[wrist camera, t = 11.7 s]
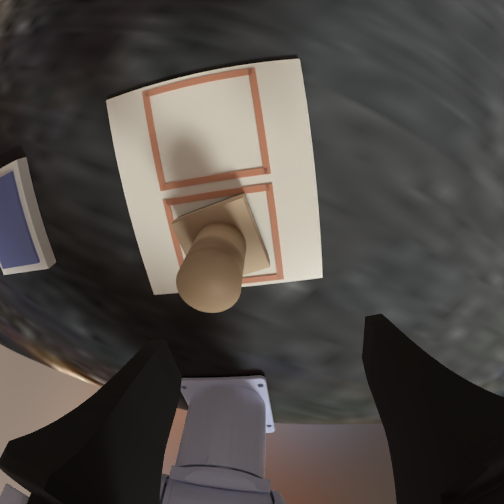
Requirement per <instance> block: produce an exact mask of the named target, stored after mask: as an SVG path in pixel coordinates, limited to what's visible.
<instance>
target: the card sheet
mask: <svg viewBox="0 0 504 504" xmlns="http://www.w3.org/2000/svg"><path fill="white" fill-rule="evenodd" d="M106 103H107V110H108V116H109V122H110V128H111V133H112V139H113V144H114V149H115V154H116V159H117V164H118V168H119V173H120V177H121V182H122V186H123V190H124V194H125V198H126V202H127V206H128V210H129V214H130V218H131V221H132V225H133V229H134V232H135V236H136V239H137V243H138V246H139V249H140V253H141V256H142V259H143V262H144V266H145V269H146V272H147V275H148V278H149V281H150V284H151V287H152V290H153V293H154V295H158V294H171V293H178V290H177V286H176V276H177V273H178V271H179V269H180V267H181V265H182V263H183V261H184V259H185V257H186V255H185V253H184V251H183V249H182V247H181V245H180V243H179V241H178V239H177V237H176V235H175V233H174V231H173V229H172V227H171V223H172V222H173V221H174V220H175V219H176V218H178V217H179V216H181V215H184V214H187V213H189V212H192V211H194V210H197V209H200V208H202V207H205V206H207V205H210V204H213V203H215V202H218V201H221V200H224V199H226V198H229V197H232V196H235V195H237V194H240V193H243V192H244V194H245V196H246V199H247V201H248V204H249V206H250V209H251V211H252V214H253V216H254V219H255V222H256V224H257V227H258V229H259V232H260V234H261V237H262V240H263V242H264V245H265V247H266V250H267V253H268V255H269V259H270V267H269V268H265V269H262V270H259V271H256V272H252V273H249V274H246V275H243V278H242V286H241V287H246V286H255V285H265V284H274V283H283V282H291V281H300V280H308V279H316V278H323V276H322V255H321V237H320V223H319V209H318V197H317V186H316V175H315V166H314V156H313V147H312V139H311V131H310V123H309V116H308V108H307V101H306V95H305V88H304V82H303V76H302V70H301V64H300V59H288V60H277V61H268V62H260V63H252V64H245V65H239V66H232V67H227V68H221V69H216V70H211V71H206V72H201V73H196V74H192V75H188V76H184V77H179V78H175V79H172V80H168V81H164V82H161V83H157V84H154V85H150V86H147V87H143V88H140V89H137V90H134V91H131V92H128V93H125V94H122V95H119V96H116V97H114V98H111V99H108V100H106Z"/></svg>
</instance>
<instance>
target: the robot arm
mask: <svg viewBox="0 0 504 504" xmlns="http://www.w3.org/2000/svg"><path fill="white" fill-rule="evenodd" d="M362 360H363V364H364V369H365V373H366V377H367V381H368V384H369V387H370V390H371V392H372V395H373V398H374V401H375V404H376V406H377V409H378V412H379V415H380V418H381V420H382V423H383V426H384V429H385V432H386V436H387V440H388V445H389V450H390V455H391V461H392V467H393V474H394V481H395V489H396V500H397V504H504V397H501V396H499V395H496V394H494V393H492V392H489V391H487V390H485V389H483V388H481V387H479V386H477V385H475V384H473V383H471V382H469V381H467V380H466V379H464V378H462V377H461V376H459V375H457V374H456V373H454V372H453V371H451V370H449V369H448V368H446V367H445V366H443V365H442V364H441V363H439V362H438V361H437V360H435V359H434V358H433V357H431V356H430V355H429V354H427V353H426V352H425V351H423V350H422V349H421V348H420V347H419V346H418V345H416V344H415V343H414V342H413V341H412V340H410V339H409V338H408V337H407V336H406V335H405V334H404V333H403V332H401V331H400V330H399V329H398V328H397V327H396V326H395V325H394V324H393V323H391V322H390V321H389V320H388V319H387V318H386V317H385V316H384V315H382V314H377V315H372V316H366V317H365V328H364V342H363V353H362ZM180 390H181V392H182V394H183V396H184V398H185V400H186V402H187V404H188V406H189V408H188V412H187V416H186V420H185V425H184V429H183V434H182V438H181V442H180V446H179V451H178V455H177V460H176V464H175V466H172V468H171V472H170V476H169V475H166V474H162V468H163V460H164V454H165V449H166V444H167V441H168V437H169V434H170V430H171V427H172V423H173V419H174V416H175V412H176V408H177V405H178V401H179V396H180ZM274 431H275V426H274V420H273V415H272V410H271V404H270V399H269V394H268V388H267V383H266V378H265V377H264V376H261V375H257V376H241V377H217V378H182V374H181V372H180V370H179V368H178V366H177V364H176V361H175V359H174V357H173V355H172V352H171V350H170V348H169V346H168V343H167V341H166V339H151V340H150V341H149V342H148V343H147V344H145V345H144V346H143V347H142V348H141V349H140V350H139V351H138V352H137V353H136V354H135V355H134V357H133V358H132V359H131V360H130V361H129V362H128V363H127V364H126V365H125V366H124V367H123V368H122V369H121V370H120V371H119V372H118V373H117V374H116V375H115V376H113V377H112V378H111V379H110V380H109V381H108V382H107V383H106V384H105V385H104V386H103V387H101V388H100V389H99V390H98V391H97V392H96V393H95V394H94V395H92V396H91V397H90V398H89V399H87V400H86V401H85V402H83V403H82V404H81V405H79V406H78V407H77V408H75V409H74V410H72V411H71V412H69V413H68V414H66V415H64V416H63V417H61V418H60V419H58V420H57V421H55V422H53V423H51V424H49V425H47V426H45V427H43V428H41V429H39V430H37V431H35V432H33V433H31V434H28V435H25V436H22V437H19V438H17V439H14V440H11V441H9V442H8V444H7V446H6V448H5V450H4V452H3V454H2V456H1V458H0V469H1V470H2V471H3V472H5V473H6V474H7V475H8V476H10V477H11V478H12V479H13V480H14V481H16V482H17V483H18V484H20V485H21V486H22V487H24V488H25V489H27V490H28V491H29V492H31V495H30V497H28V496H26V495H25V494H23V493H21V492H20V491H18V490H16V489H15V488H13V487H12V486H10V485H8V484H6V485H5V487H4V489H3V491H2V494H1V496H0V504H286V501H285V499H284V498H283V497H282V496H281V495H280V493H279V492H278V491H277V490H270V480H269V479H265V435H266V433H271V432H274Z"/></svg>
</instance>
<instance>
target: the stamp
mask: <svg viewBox="0 0 504 504" xmlns="http://www.w3.org/2000/svg"><path fill="white" fill-rule="evenodd" d="M171 227H172V229H173V231H174V233H175V235H176V237H177V239H178V241H179V243H180V245H181V247H182V249H183V251H184V253H185V255H186V257H185V259H184V261H183V263H182V265H181V267H180V269H179V271H178V273H177V276H176V286H177V290H178V293H179V295H180V296H181V298H182V299H183V300H184V301H185V302H186V303H187V304H188V305H189V306H191V307H193V308H194V309H197V310H199V311H202V312H208V313H216V312H222V311H225V310H227V309H229V308H230V307H232V306H233V305H234V304H235V303H236V302H237V300H238V298H239V296H240V293H241V286H242V278H243V275H246V274H249V273H252V272H256V271H259V270H262V269H265V268H269V267H270V259H269V255H268V253H267V250H266V247H265V245H264V242H263V240H262V237H261V234H260V232H259V229H258V227H257V224H256V222H255V219H254V216H253V214H252V211H251V209H250V206H249V204H248V201H247V199H246V196H245V194H244V192H243V193H240V194H237V195H235V196H232V197H229V198H226V199H224V200H221V201H218V202H215V203H213V204H210V205H207V206H205V207H202V208H200V209H197V210H194V211H192V212H189V213H187V214H184V215H181V216H179V217H178V218H176V219H175V220H174V221H173V222H172V223H171Z"/></svg>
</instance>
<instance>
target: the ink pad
mask: <svg viewBox="0 0 504 504" xmlns="http://www.w3.org/2000/svg"><path fill="white" fill-rule="evenodd" d="M55 263H56V259H55V257H54V254H53V251H52V248H51V246H50V243H49V240H48V237H47V234H46V231H45V228H44V224H43V221H42V218H41V214H40V211H39V207H38V204H37V200H36V196H35V193H34V189H33V185H32V180H31V176H30V172H29V167H28V162H27V157H24V158H21V159H17V160H15V161H13V162H11V163H10V164H8V165H6V166H4V167H2V168H0V266H1V269H2V271H3V274H4V275H7V274H14V273H21V272H28V271H35V270H42V269H49V268H50V267H51V266H52V265H54V264H55Z"/></svg>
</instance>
